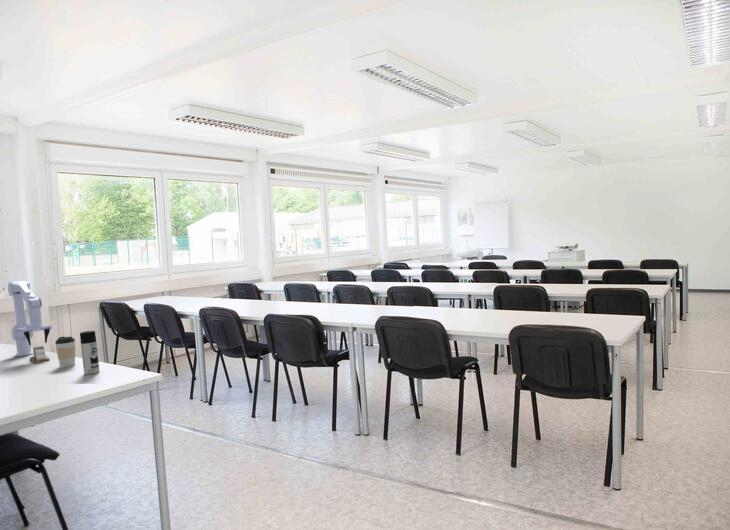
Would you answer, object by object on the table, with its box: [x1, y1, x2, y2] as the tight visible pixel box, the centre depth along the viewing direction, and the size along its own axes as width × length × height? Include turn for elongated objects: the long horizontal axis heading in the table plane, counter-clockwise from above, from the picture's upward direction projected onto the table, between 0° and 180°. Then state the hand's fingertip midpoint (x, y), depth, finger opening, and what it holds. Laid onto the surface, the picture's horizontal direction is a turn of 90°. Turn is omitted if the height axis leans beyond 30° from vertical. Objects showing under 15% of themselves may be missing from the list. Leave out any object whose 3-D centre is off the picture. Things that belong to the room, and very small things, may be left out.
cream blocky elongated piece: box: [29, 347, 50, 364], centre depth 298 cm, size 17×8×6 cm, turn 37°
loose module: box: [32, 345, 45, 358], centre depth 297 cm, size 5×4×6 cm
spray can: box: [79, 330, 100, 375], centre depth 255 cm, size 7×7×20 cm
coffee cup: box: [54, 336, 76, 368], centre depth 276 cm, size 9×9×15 cm
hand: (38, 343), depth 297 cm, fingers open, 7 cm apart
